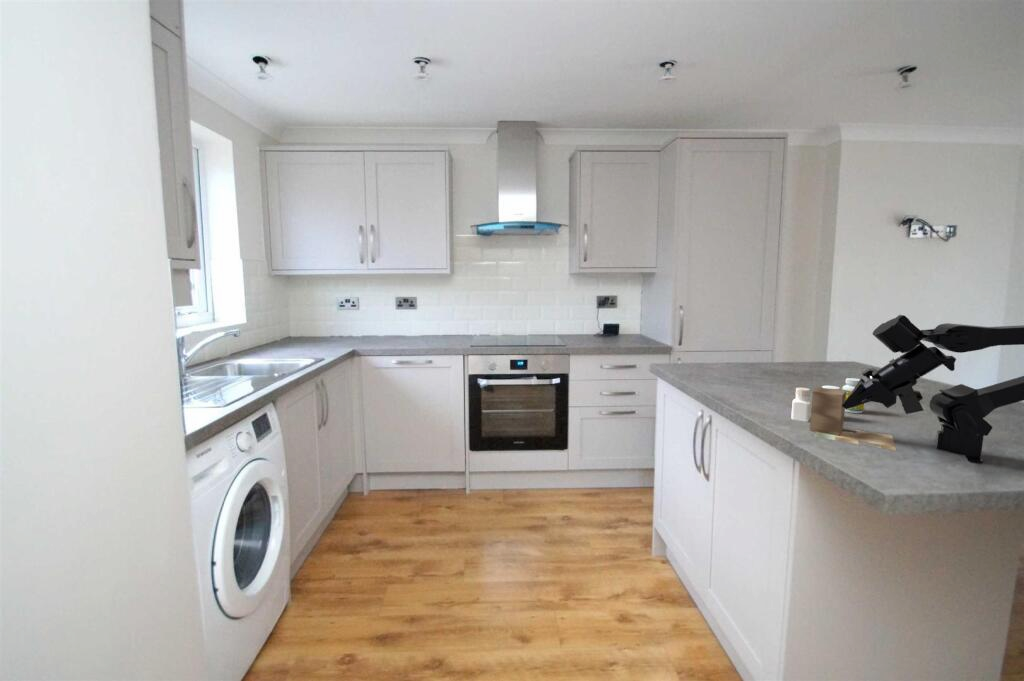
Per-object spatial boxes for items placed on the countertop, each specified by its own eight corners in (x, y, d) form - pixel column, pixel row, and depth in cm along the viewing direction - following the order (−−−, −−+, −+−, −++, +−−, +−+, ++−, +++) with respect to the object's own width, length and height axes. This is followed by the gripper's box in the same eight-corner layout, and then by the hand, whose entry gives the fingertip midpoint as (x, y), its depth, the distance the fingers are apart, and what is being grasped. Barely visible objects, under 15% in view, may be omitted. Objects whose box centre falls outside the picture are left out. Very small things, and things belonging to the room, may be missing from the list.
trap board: (892, 440, 108) (892, 435, 108) (895, 455, 98) (895, 450, 98) (817, 428, 117) (817, 424, 117) (813, 441, 108) (814, 436, 107)
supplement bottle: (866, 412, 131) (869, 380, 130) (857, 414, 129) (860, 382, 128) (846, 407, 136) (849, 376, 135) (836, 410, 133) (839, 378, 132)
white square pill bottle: (793, 419, 125) (795, 386, 123) (810, 422, 122) (812, 388, 121) (790, 423, 122) (792, 389, 120) (807, 426, 119) (810, 391, 118)
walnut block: (842, 429, 112) (846, 391, 111) (838, 435, 108) (842, 395, 106) (814, 424, 116) (817, 387, 115) (809, 430, 112) (812, 391, 111)
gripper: (949, 404, 90) (873, 446, 98) (935, 387, 105) (870, 424, 113) (901, 362, 93) (832, 405, 101) (894, 351, 108) (834, 389, 116)
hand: (844, 407), depth 108 cm, fingers closed
